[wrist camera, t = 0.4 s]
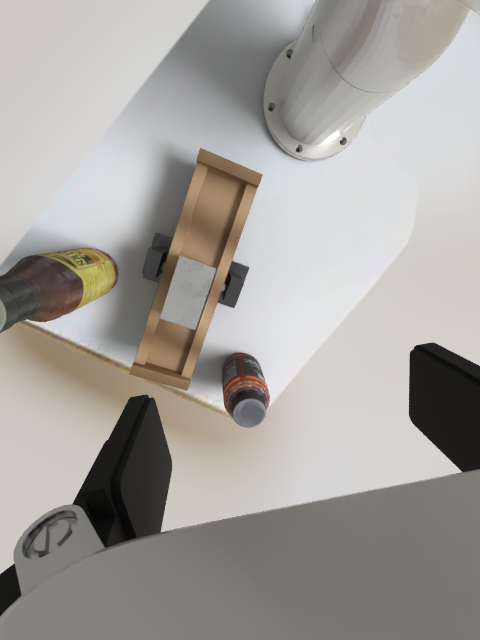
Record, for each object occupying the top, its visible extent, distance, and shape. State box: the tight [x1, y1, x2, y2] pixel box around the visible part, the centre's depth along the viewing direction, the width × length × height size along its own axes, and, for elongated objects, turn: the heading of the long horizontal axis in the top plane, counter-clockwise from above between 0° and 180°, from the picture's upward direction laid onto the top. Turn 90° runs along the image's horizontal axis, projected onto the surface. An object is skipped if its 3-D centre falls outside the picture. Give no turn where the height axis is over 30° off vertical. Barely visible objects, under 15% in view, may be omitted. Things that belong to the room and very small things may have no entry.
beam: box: [130, 148, 262, 390], centre depth 36 cm, size 26×8×6 cm, turn 160°
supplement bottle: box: [222, 354, 270, 428], centre depth 40 cm, size 6×6×11 cm
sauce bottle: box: [0, 248, 118, 333], centre depth 30 cm, size 6×6×20 cm
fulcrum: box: [142, 233, 249, 308], centre depth 38 cm, size 26×13×6 cm, turn 160°
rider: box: [160, 256, 216, 330], centre depth 34 cm, size 7×4×4 cm, turn 160°
